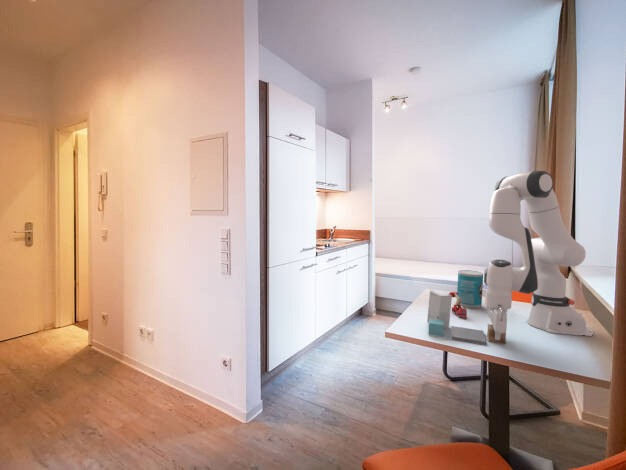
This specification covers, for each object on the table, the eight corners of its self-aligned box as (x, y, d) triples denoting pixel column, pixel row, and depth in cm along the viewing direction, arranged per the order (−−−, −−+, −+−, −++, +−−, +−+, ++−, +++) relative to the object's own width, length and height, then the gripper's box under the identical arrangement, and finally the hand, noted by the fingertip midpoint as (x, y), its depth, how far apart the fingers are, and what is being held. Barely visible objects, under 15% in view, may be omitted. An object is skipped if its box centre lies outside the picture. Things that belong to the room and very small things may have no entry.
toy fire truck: (460, 318, 144) (461, 298, 143) (448, 309, 158) (449, 291, 157) (467, 319, 144) (468, 299, 143) (454, 309, 158) (455, 291, 157)
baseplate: (482, 333, 127) (483, 330, 127) (486, 345, 116) (486, 342, 116) (451, 328, 132) (451, 325, 132) (451, 339, 121) (451, 336, 121)
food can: (452, 301, 171) (454, 270, 169) (473, 301, 171) (475, 270, 170) (463, 308, 159) (465, 274, 157) (486, 308, 159) (488, 274, 158)
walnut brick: (502, 338, 123) (503, 326, 122) (505, 343, 118) (506, 331, 117) (487, 336, 125) (487, 324, 124) (488, 341, 120) (489, 328, 119)
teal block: (443, 332, 129) (443, 320, 128) (442, 337, 124) (443, 325, 123) (429, 329, 131) (429, 318, 130) (428, 334, 126) (428, 322, 125)
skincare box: (426, 322, 140) (428, 290, 138) (438, 320, 141) (439, 289, 140) (438, 329, 132) (440, 295, 130) (450, 327, 133) (452, 294, 132)
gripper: (512, 310, 109) (510, 348, 110) (503, 296, 128) (501, 328, 129) (492, 308, 112) (490, 344, 113) (486, 294, 130) (484, 325, 131)
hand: (495, 335), depth 121 cm, fingers closed on walnut brick, 5 cm apart
